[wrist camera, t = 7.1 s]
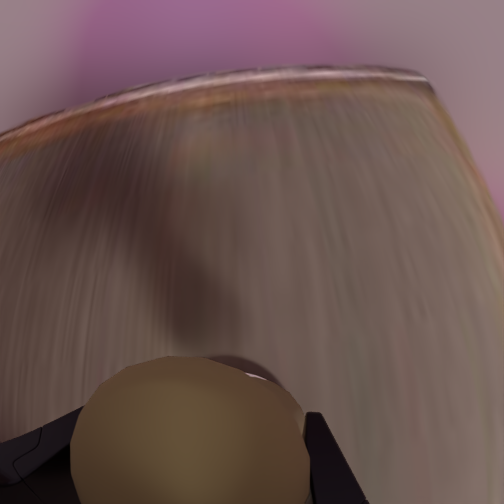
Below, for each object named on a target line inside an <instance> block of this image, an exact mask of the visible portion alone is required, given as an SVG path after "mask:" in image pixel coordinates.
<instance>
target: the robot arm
mask: <svg viewBox="0 0 504 504" xmlns="http://www.w3.org/2000/svg"><path fill="white" fill-rule="evenodd" d="M84 406H85V405H84ZM84 406H82V407H80V408H78V409H76V410H74V411H72V412H70V413H68V414H66V415H64V416H62V417H60V418H58V419H56V420H54V421H52V422H50V423H48V424H46V425H44V426H43V427H40V428H37V429H35V430H33V431H31V432H29V433H26V434H24V435H22V436H19V437H17V438H14V439H11V440H9V441H6V442H3V443H0V504H81V502H80V500H79V497H78V494H77V491H76V488H75V485H74V481H73V478H72V475H71V463H70V442H71V439H72V436H73V432H74V429H75V426H76V423H77V419H78V416H79V414H80V412H81V410H82V409H83V407H84ZM302 437H303V440H304V443H305V446H306V448H307V451H308V454H309V457H310V494H309V496H308V499H307V501H306V503H305V504H369V502H368V500H365V499H366V497H365V495H364V493H363V491H362V489H361V487H360V486H359V484H358V482H357V480H356V478H355V476H354V474H353V472H352V471H351V469H350V467H349V465H348V463H347V461H346V459H345V457H344V455H343V454H342V452H341V450H340V448H339V446H338V444H337V442H336V440H335V438H334V436H333V435H332V433H331V431H330V429H329V427H328V425H327V423H326V421H325V419H324V417H323V416H322V414H321V413H320V412H307V413H306V416H305V422H304V427H303V433H302Z"/></svg>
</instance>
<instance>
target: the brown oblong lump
mask: <svg viewBox="0 0 504 504" xmlns="http://www.w3.org/2000/svg"><path fill="white" fill-rule="evenodd" d="M304 422H305V417H304V414H303V411H302V409H301V407H300V405H299V404H298V403H297V402H296V400H295V399H294V398H293V397H292V395H291V394H290V393H289V392H288V391H286V390H285V389H283V388H282V387H280V386H279V385H277V384H276V383H274V382H271V381H268V380H265V379H261V378H258V377H250V376H249V375H247V374H246V373H244V372H243V371H242V370H240V369H237V368H234V367H231V366H228V365H225V364H222V363H219V362H216V361H213V360H210V359H207V358H204V357H174V356H167V357H162V358H158V359H155V360H151V361H147V362H144V363H140V364H136V365H132V366H129V367H126V368H124V369H123V370H121V371H120V372H118V373H117V374H116V375H114V376H113V377H111V378H110V379H108V380H107V381H105V382H104V383H102V384H101V385H100V386H99V387H98V389H97V390H96V391H95V393H94V394H93V395H92V397H91V398H90V399H89V401H88V402H87V403H86V405H85V406H84V407H83V409H82V410H81V412H80V414H79V416H78V419H77V423H76V426H75V429H74V432H73V436H72V439H71V442H70V463H71V475H72V478H73V481H74V485H75V488H76V491H77V494H78V497H79V500H80V502H81V504H305V503H306V501H307V499H308V496H309V494H310V457H309V454H308V451H307V448H306V446H305V443H304V440H303V437H302V433H303V427H304Z"/></svg>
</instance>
